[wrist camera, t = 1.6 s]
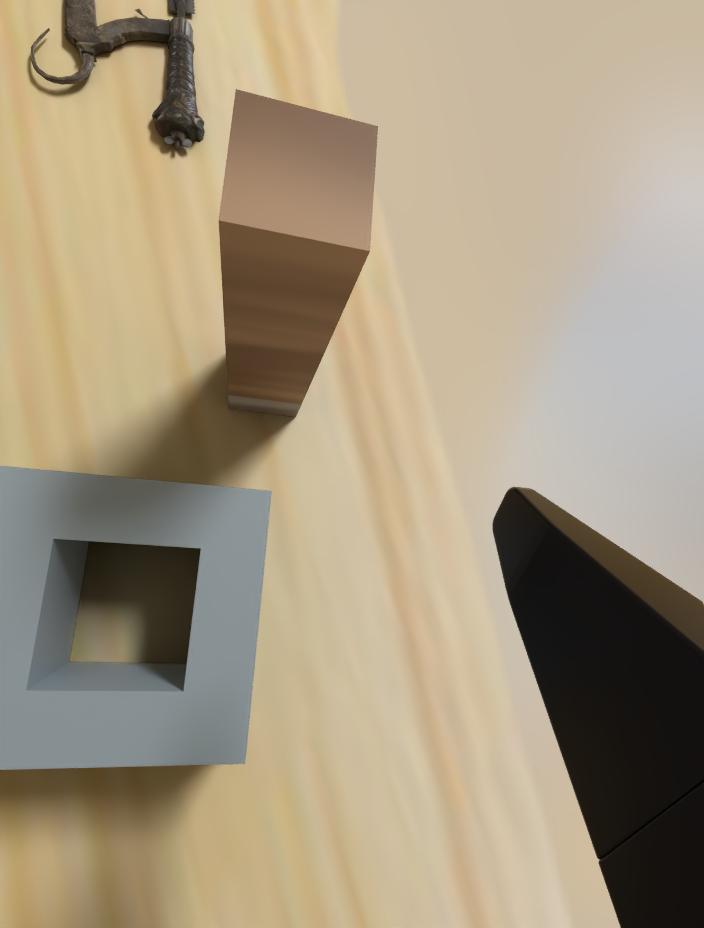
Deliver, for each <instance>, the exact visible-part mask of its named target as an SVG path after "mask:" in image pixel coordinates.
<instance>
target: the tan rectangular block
mask: <svg viewBox="0 0 704 928" xmlns="http://www.w3.org/2000/svg"><path fill="white" fill-rule="evenodd" d="M377 131H378V126H374V125H370V124H366V123H363V122H359V121H355V120H351V119H348V118H344V117H340V116H336V115H332V114H328V113H325V112H321V111H317V110H313V109H309V108H306V107H302V106H298V105H294V104H290V103H286V102H283V101H279V100H275V99H271V98H267V97H263V96H260V95H256V94H252V93H248V92H244V91H241V90H237V89H236V93H235V101H234V108H233V116H232V123H231V131H230V139H229V146H228V154H227V162H226V169H225V177H224V184H223V192H222V200H221V207H220V215H219V233H220V252H221V271H222V289H223V308H224V327H225V345H226V364H227V383H228V401H229V409H236V410H244V411H252V412H260V413H268V414H276V415H284V416H292V417H296V415H297V413H298V411H299V409H300V406H301V404H302V402H303V400H304V397H305V395H306V393H307V391H308V388H309V386H310V384H311V382H312V379H313V377H314V375H315V373H316V370H317V368H318V366H319V364H320V362H321V359H322V357H323V355H324V353H325V350H326V348H327V346H328V344H329V341H330V339H331V337H332V335H333V332H334V330H335V328H336V326H337V323H338V321H339V319H340V317H341V315H342V312H343V310H344V308H345V306H346V303H347V301H348V299H349V297H350V294H351V292H352V290H353V288H354V285H355V283H356V281H357V279H358V276H359V274H360V272H361V270H362V267H363V265H364V263H365V261H366V259H367V256H368V254H369V252H370V240H371V225H372V209H373V194H374V179H375V163H376V148H377Z"/></svg>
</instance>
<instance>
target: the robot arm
mask: <svg viewBox="0 0 704 928" xmlns="http://www.w3.org/2000/svg"><path fill="white" fill-rule="evenodd" d="M493 534H494V538H495V543H496V547H497V552H498V556H499V560H500V565H501V569H502V573H503V578H504V582H505V587H506V591H507V594H508V598H509V602H510V605H511V608H512V611H513V614H514V617H515V620H516V623H517V626H518V628H519V631H520V634H521V637H522V640H523V643H524V646H525V649H526V652H527V655H528V658H529V661H530V663H531V666H532V669H533V672H534V675H535V678H536V681H537V684H538V687H539V690H540V692H541V695H542V698H543V701H544V704H545V707H546V710H547V713H548V716H549V719H550V722H551V725H552V727H553V730H554V733H555V736H556V739H557V742H558V745H559V748H560V751H561V754H562V757H563V760H564V762H565V765H566V768H567V771H568V774H569V777H570V780H571V783H572V785H573V789H574V792H575V794H576V797H577V800H578V803H579V806H580V809H581V812H582V815H583V818H584V821H585V823H586V826H587V830H588V832H589V835H590V838H591V841H592V844H593V847H594V850H595V853H596V856H597V858H598V859H600V860H599V866H600V868H601V871H602V874H603V877H604V880H605V883H606V886H607V889H608V891H609V895H610V898H611V900H612V903H613V906H614V909H615V912H616V915H617V918H618V921H619V924H620V927H621V928H704V604H703V602H702V601H700V600H699V599H697V598H696V597H694V596H693V595H691V594H690V593H688V592H687V591H685V590H684V589H682V588H681V587H679V586H678V585H676V584H675V583H673V582H672V581H670V580H669V579H667V578H666V577H664V576H663V575H661V574H660V573H658V572H657V571H655V570H653V569H652V568H651V567H649V566H648V565H646V564H645V563H643V562H642V561H640V560H639V559H637V558H636V557H634V556H632V555H631V554H630V553H628V552H627V551H625V550H624V549H622V548H620V547H619V546H617V545H616V544H614V543H613V542H611V541H610V540H608V539H607V538H605V537H604V536H602V535H601V534H599V533H598V532H596V531H595V530H593V529H592V528H590V527H589V526H587V525H586V524H584V523H583V522H581V521H580V520H578V519H577V518H575V517H573V516H572V515H571V514H569V513H567V512H566V511H565V510H563V509H562V508H560V507H559V506H557V505H555V504H554V503H552V502H551V501H550V500H548V499H547V498H545V497H543V496H542V495H540V494H539V493H537V492H536V491H534V490H532V489H530V488H521V487H512V488H510V489H509V490H508V491H507V492H506V494H505V497H504V498H503V501H502V502H501V504H500V507H499V509H498V511H497V513H496V515H495V517H494V520H493Z"/></svg>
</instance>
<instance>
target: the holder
mask: <svg viewBox="0 0 704 928" xmlns="http://www.w3.org/2000/svg"><path fill="white" fill-rule="evenodd" d="M270 502H271V491H267V490H256V489H245V488H234V487H224V486H213V485H202V484H191V483H180V482H170V481H159V480H148V479H137V478H127V477H116V476H105V475H94V474H83V473H73V472H62V471H51V470H40V469H29V468H19V467H8V466H0V770H14V769H55V768H96V767H137V766H178V765H219V764H245V760H246V749H247V739H248V729H249V718H250V708H251V698H252V687H253V677H254V667H255V656H256V646H257V636H258V625H259V615H260V605H261V594H262V584H263V574H264V563H265V553H266V543H267V533H268V522H269V512H270ZM89 541H96V542H111V543H126V544H141V545H156V546H172V547H187V548H201V551H200V560H199V568H198V576H197V584H196V593H195V601H194V609H193V617H192V625H191V634H190V642H189V650H188V658H187V664H166V663H109V662H69V660H70V654H71V648H72V642H73V636H74V630H75V624H76V618H77V612H78V605H79V599H80V593H81V587H82V581H83V575H84V569H85V563H86V557H87V551H88V545H89Z"/></svg>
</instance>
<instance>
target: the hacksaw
mask: <svg viewBox="0 0 704 928" xmlns="http://www.w3.org/2000/svg"><path fill="white" fill-rule="evenodd" d="M169 4H170V13H177V17H175V18H173V19H172V20H171V21H170V20H161V19H149V18H147V17H146V16H145V15H143V14H142V12H141V10H140V9H137V10H135V11H137V12H138V13H139V14H141V15H142V16H143V17H145V18H126V19H119V20H114V21H111V22H108V23H105V24H103V25H101V26H98V27H97V24H96V14H95V0H65V26H66V28H65V31H66V33H65V36H66V39H68V40H69V41H70V42H72V43H73V44H74V45H75V46H77V48H78V50H79V51H80V57H81V60H82V61H83V62H82V65H81V68H80V70H79V71H78V72H77V73H75V74H74V75H72V76H66V77H59V78H58V77H54V76H51V75H47V74H46V73H44V72H43V71H42V70H41V69H39V67H38V66H37V64H36V61H35V57H34V50H35V47H36V45H37V44H38V42H39V41H40V40H41V39H42V38H43V37H44V36H45V35H46V34H47V33H48V32H49V30H50V29H49V28H48V29H47V30H46V31H45V32H44V33H43V34H41V35H40V36H39V38H38V39H37V40H36V41H35V42H34V43H33V45H32V46H31V61H32V64H33V67H34V69H35V70H36V72H37V73H38V74H40V75H41V76H42V77H44V78H45V79H46V80H48V81H51V82H53V83H58V84H75V83H78V82H81V81H83V80H85V79H86V78H87V76H88V75H89V74H90V72H91V71H92V68H93V64H94V62H97V61H96V57H95V55H96V54H98V53H101V52H103V51H112V49H113V47H115V46H118V45H121V44H124V43H125V41H134V40H148V41H157V42H166V43H168V48H169V59H168V76H167V78H168V79H167V85H166V90H167V93H166V98H165V99H164V101H163V102H162V103H161V104H160V105H159V107H158V108H157V109H156V110H155V111H154V112H153V115H152V116H153V120H154V122H155V123H156V124H155V126H156V129H157V130H158V132H159V133H160V135H161V136H162V137H164V141H165V144H169V145H170V144H173V143H174V142H175V148H176V149H179V145H180V144H182V145H183V146H185V147H190V146H192V142H191V141H199V142H200V141H201V140H203V136H204V132H205V131H204V128H203V126H204V121H203V120H202V118H201V117H200V116H198V113H197V112H198V111H197V106H196V91H195V83H194V72H193V53H194V45H193V30H192V27H191V25H190V23H189V22H188V21H187V20H186V14H195V13H194V11H195V10H194V4H195V3H194V0H169Z"/></svg>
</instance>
